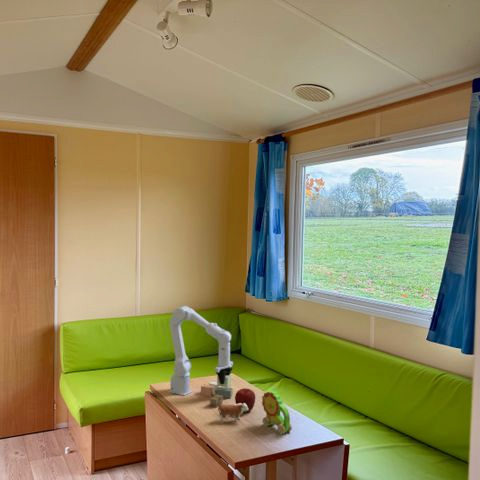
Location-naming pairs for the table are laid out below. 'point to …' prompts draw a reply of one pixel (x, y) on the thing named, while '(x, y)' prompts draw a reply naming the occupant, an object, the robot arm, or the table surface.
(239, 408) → the bull figurine
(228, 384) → the sage brick
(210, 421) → the table surface
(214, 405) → the walnut brick
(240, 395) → the apple
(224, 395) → the charcoal brick
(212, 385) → the pale grey brick
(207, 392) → the terracotta brick
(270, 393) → the toy lion
